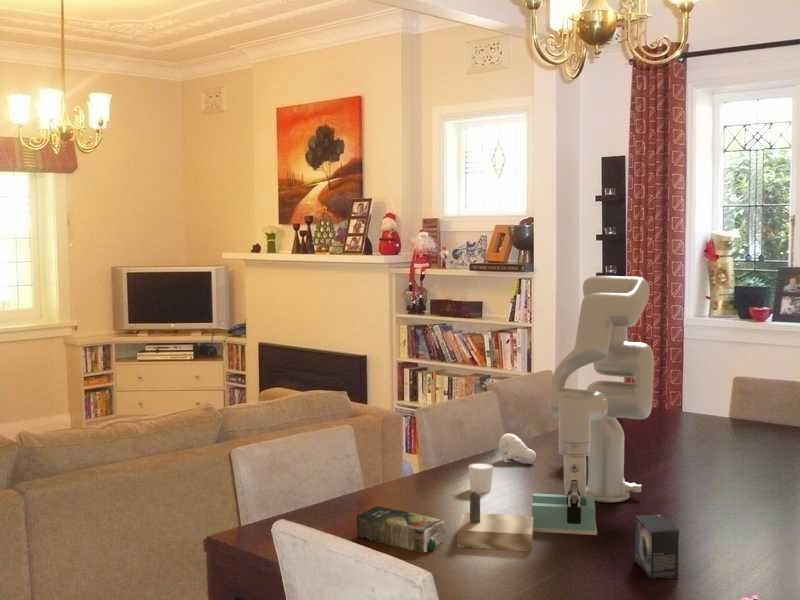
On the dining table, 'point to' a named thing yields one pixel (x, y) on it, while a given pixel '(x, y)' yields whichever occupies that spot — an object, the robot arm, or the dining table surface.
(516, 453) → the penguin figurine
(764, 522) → the dining table surface
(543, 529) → the mat
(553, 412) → the robot arm
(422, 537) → the juice carton
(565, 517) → the c link
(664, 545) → the small box
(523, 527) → the stand
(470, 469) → the shot glass
